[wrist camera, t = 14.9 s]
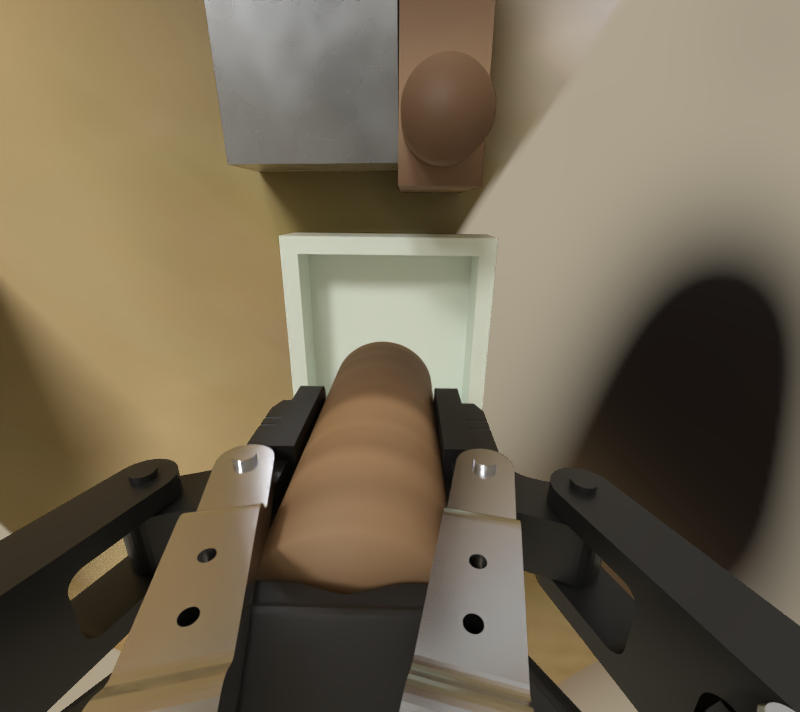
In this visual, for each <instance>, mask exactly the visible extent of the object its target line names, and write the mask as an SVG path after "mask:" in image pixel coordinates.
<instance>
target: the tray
mask: <svg viewBox="0 0 800 712" xmlns="http://www.w3.org/2000/svg"><path fill="white" fill-rule="evenodd" d="M279 244H280V255H281V266H282V277H283V287H284V298H285V309H286V320H287V330H288V341H289V352H290V363H291V374H292V384H293V395H294V396H295V394H296V392H297V391H298V389H299V387H300V386H324V387H325V391H326V398H327V396H328V393H329V391H330V389H331V386H332V384H333V382H334V379H335V377H336V375H337V372H338V370H339V368H340V366H341V364H342V362H343V361H344V359H345V358H346V357H347V356H348V355H349V354H350V353H351V352H353V351H354V350H356V349H357V348H359V347H361V346H363V345H366V344H369V343H373V342H392V343H397V344H400V345H403V346H405V347H407V348H409V349H410V350H412V351H413V352H414V353H416V354H417V355H418V356H419V357H420V358H421V359H422V361H423V362H424V364H425V365H426V367H427V369H428V371H429V374H430V378H431V384H432V391H433V399H434V389H435V388H457V389H458V392H459V396H460V400H461V403H470V404H475V405H476V406H477V407H479V408H480V409H481V410H482V407H483V397H484V386H485V375H486V365H487V353H488V343H489V333H490V322H491V311H492V301H493V300H492V299H493V290H494V279H495V268H496V257H497V247H498V238H496V237H492V236H489V235H472V234H471V235H470V234H388V233H303V232H294V233H289V234H285V235H280V236H279Z"/></svg>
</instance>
